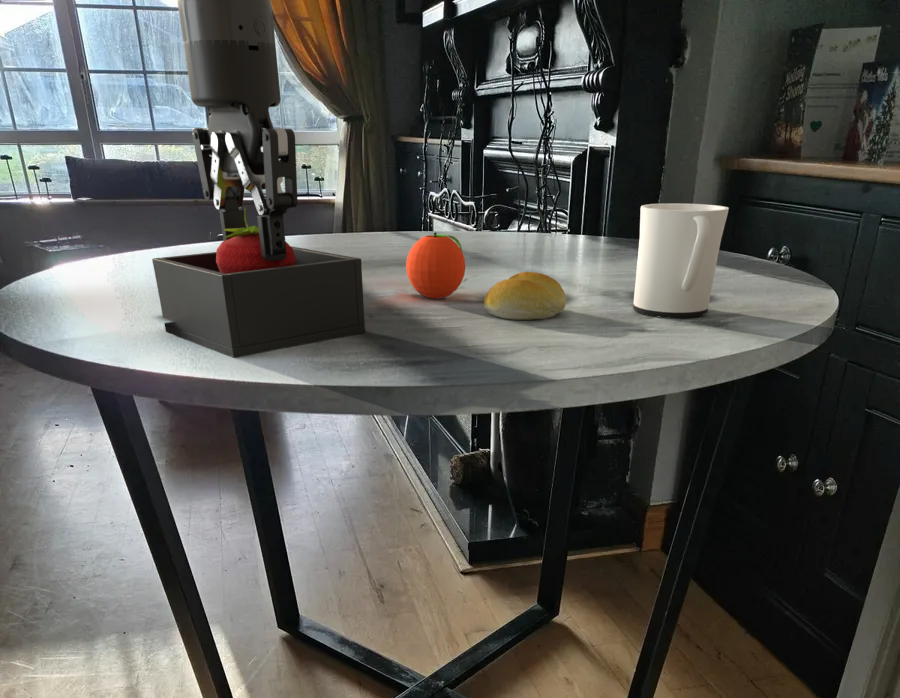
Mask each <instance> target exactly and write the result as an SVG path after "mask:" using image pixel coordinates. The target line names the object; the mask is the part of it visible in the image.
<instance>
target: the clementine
mask: <svg viewBox="0 0 900 698" xmlns="http://www.w3.org/2000/svg"><path fill="white" fill-rule="evenodd" d="M405 264H406V265H405V268H406V275H407V278H408V280H409V282H410V285H411V286H412V287H413V288H414V290H415V291H416V292H418V293H419V294H420V295H422V296H423V297H427V298H429V299H435V300H436V299H437V300H438V299H444V298H446V297H448V296H451V295H452V294H453V293H455V292H456V291H457V290H458V288H459V287H460V285H461V284H462V282H463V279H464V277H465V273H466V258H465V255H464V254H463V248H462V244H461V243H460V240H459V239H457V238H456V237H455V236H453V235H447V234H441V233H439V234H437V232H434V233H433V234H431V235H430V234H429V235H425V236H422V237H421V238H419V239H418V240H417V241H416V242H415V243H413V245H412V247H411V248H410V250H409V251H408V255H407V257H406V263H405Z"/></svg>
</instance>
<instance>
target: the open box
mask: <svg viewBox="0 0 900 698" xmlns="http://www.w3.org/2000/svg"><path fill="white" fill-rule="evenodd" d="M290 246H291V245H290ZM291 247H292V248H293V251H294V255H295V258H296V264H295V265H293V266H285V267H276V268H268V269H260V270H252V271H244V272H235V273H227V274H225V273H221V272H220V270H219V268H218V265H217V263H216V253H217V251H212V252H202V253H201V252H200V253H194V254H193V253H192V254H184V255H183V254H182V255H174V256H163V257H154V258H153V257H152V259H151V260H152V265H153V272H154V277H155V281H156V282H155V283H156V287H157V292H158V298H159V305H160V308H161V314H162V318H163V319H165V320H168V321H170V322H164V323H163V324H164V330H165V332H166V334H170V335H172V336H175V337H178V338H180V339H183V340H186V341H189V342H192V343H194V344H197V345H199V346H201V347H205V348H207V349H210V350H212V351H215V352H218V353H220V354H223V355H227V356H229V357H232V358H238V357H245V356H249V355H254V354H255V355H256V354H259V353H265V352H270V351H275V350H276V351H277V350H281V349H285V348H290V347H291V348H292V347H297V346H301V345H306V344H312V343H317V342H322V341H327V340H333V339H337V338H343V337H344V338H345V337H348V336H354V335H359V334H365V333H366V325H365V323H366V321H365V320H366V319H365V305H364V304H365V303H364V287H363V270H362V269H363V268H362V258H360V257H354V256H349V255H343V254H337V253H331V252H325V251H319V250H315V249H308V248H303V247H298V246H291Z"/></svg>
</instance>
